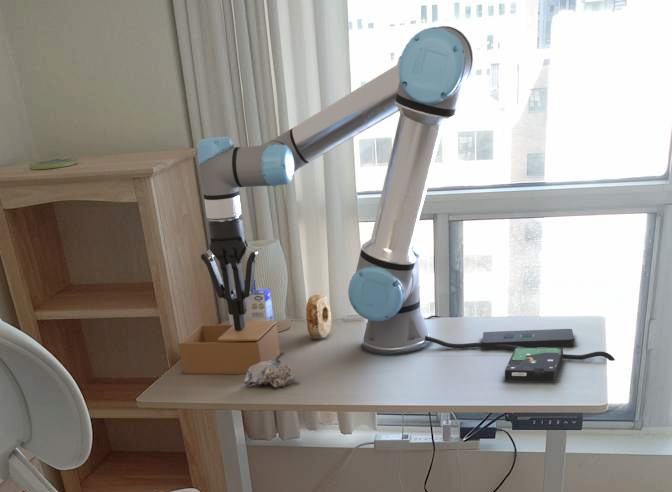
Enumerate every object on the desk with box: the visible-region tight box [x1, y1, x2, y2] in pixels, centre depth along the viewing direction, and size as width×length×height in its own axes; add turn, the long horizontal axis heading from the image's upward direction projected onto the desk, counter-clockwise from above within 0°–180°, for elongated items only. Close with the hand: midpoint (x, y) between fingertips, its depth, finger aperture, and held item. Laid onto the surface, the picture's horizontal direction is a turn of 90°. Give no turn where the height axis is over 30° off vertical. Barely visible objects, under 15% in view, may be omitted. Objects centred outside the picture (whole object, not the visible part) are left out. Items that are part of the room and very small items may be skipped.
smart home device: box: [482, 328, 575, 350], centre depth 210 cm, size 8×2×20 cm
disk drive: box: [504, 347, 564, 383], centre depth 193 cm, size 10×3×15 cm
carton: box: [177, 323, 282, 375], centre depth 213 cm, size 19×14×7 cm
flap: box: [218, 320, 277, 341], centre depth 210 cm, size 9×14×1 cm
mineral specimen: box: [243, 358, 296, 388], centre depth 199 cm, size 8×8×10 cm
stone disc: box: [305, 294, 332, 340], centre depth 224 cm, size 10×4×10 cm, turn 161°
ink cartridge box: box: [228, 279, 275, 325], centre depth 224 cm, size 10×6×14 cm, turn 78°
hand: (240, 328), depth 210 cm, fingers closed
